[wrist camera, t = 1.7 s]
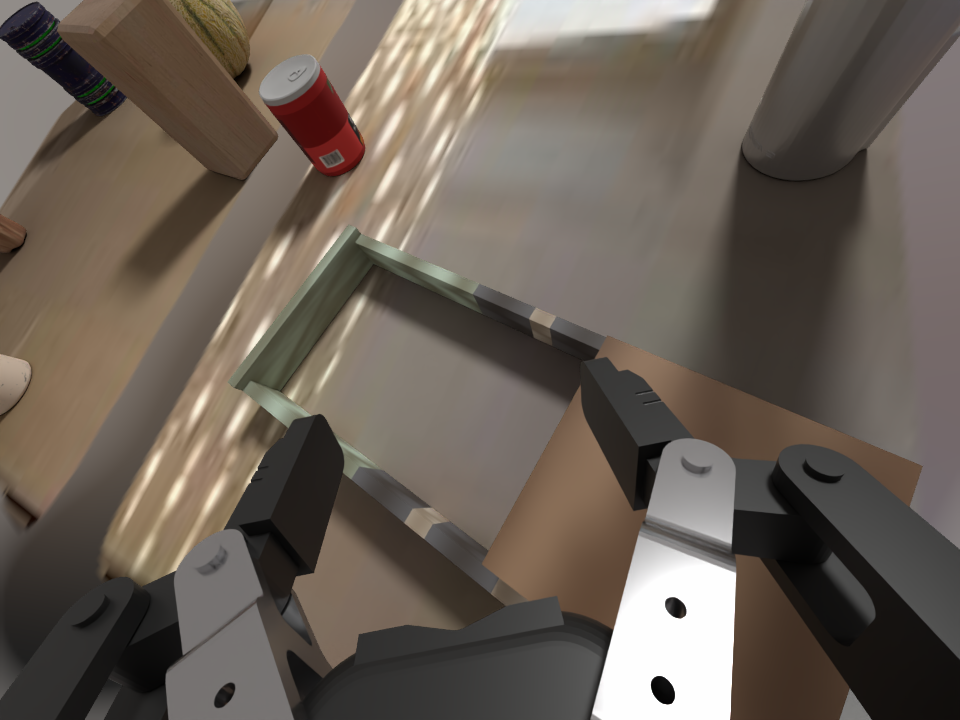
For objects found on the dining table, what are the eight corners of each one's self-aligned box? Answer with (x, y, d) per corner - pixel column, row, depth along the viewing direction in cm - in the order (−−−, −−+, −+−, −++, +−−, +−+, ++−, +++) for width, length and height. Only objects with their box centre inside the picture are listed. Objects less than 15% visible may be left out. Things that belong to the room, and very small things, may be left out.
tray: (805, 445, 26) (852, 434, 22) (689, 729, 23) (716, 787, 18) (372, 252, 44) (348, 224, 39) (266, 395, 40) (227, 382, 36)
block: (245, 184, 56) (86, 32, 38) (209, 172, 60) (48, 29, 41) (283, 136, 58) (149, -29, 40) (245, 128, 62) (107, -26, 44)
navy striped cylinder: (101, 93, 83) (8, 14, 69) (135, 78, 81) (47, -6, 67) (88, 122, 79) (-13, 44, 65) (124, 107, 77) (27, 23, 63)
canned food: (377, 144, 51) (328, 58, 41) (341, 184, 50) (282, 106, 40) (343, 131, 54) (290, 49, 44) (308, 169, 53) (246, 93, 43)
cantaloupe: (222, 54, 74) (143, -46, 61) (279, 42, 70) (207, -69, 56) (191, 105, 70) (97, 9, 56) (249, 95, 65) (163, -11, 52)
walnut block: (779, 480, 26) (922, 465, 15) (701, 672, 24) (806, 818, 13) (597, 391, 32) (607, 335, 21) (517, 540, 29) (481, 563, 18)
